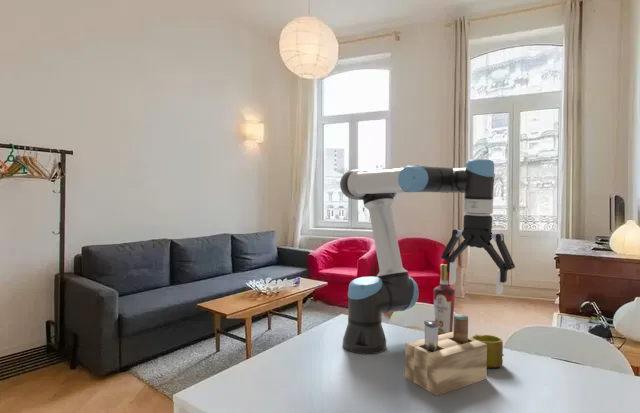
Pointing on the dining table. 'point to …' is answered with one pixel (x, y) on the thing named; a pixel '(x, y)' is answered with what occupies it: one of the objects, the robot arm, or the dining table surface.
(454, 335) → the walnut peg
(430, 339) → the metal pin
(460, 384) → the oak block
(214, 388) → the dining table surface
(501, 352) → the mug
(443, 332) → the liquor
